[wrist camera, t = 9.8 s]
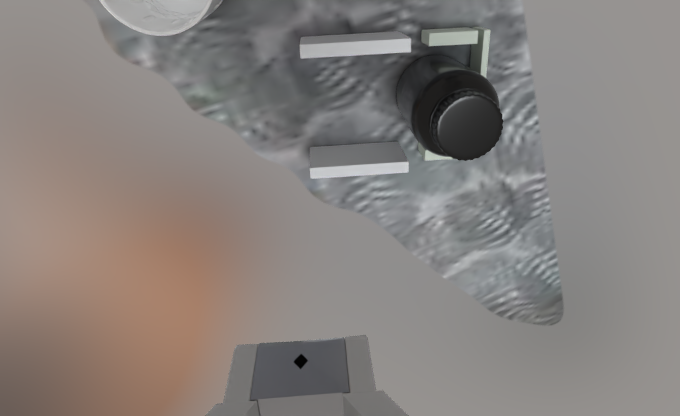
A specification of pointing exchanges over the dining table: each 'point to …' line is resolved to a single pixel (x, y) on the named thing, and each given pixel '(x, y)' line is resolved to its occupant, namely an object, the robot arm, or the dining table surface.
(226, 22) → the dining table surface
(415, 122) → the supplement bottle
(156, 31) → the white cup
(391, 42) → the channel
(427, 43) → the dock
